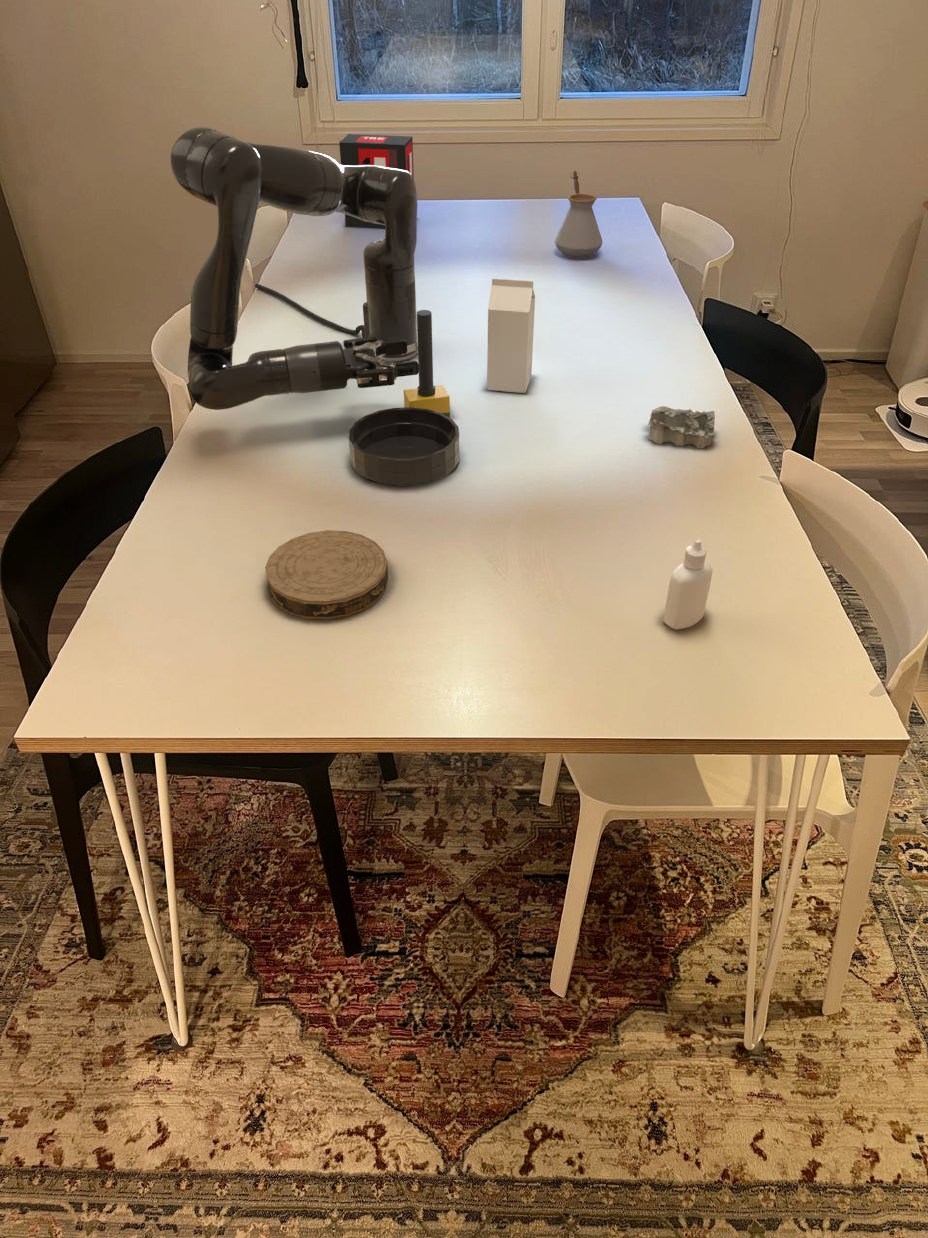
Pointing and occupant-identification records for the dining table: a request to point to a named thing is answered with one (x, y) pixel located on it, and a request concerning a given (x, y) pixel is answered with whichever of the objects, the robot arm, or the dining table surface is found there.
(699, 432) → the egg carton
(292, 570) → the wood slice
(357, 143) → the cleaning product box
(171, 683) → the dining table surface
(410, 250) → the robot arm
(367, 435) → the bowl
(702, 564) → the eye dropper bottle
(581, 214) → the coffee pot
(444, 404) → the sponge wand
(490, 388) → the milk carton
